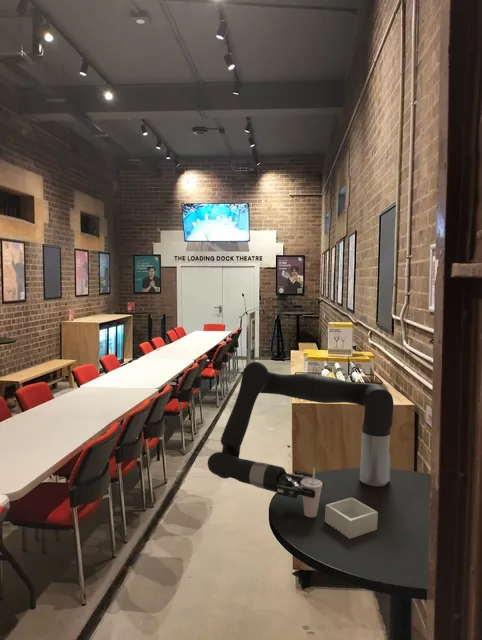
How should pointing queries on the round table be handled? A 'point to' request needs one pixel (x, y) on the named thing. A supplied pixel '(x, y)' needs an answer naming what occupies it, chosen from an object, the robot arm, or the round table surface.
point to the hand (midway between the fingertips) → (319, 489)
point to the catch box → (351, 517)
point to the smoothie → (308, 502)
